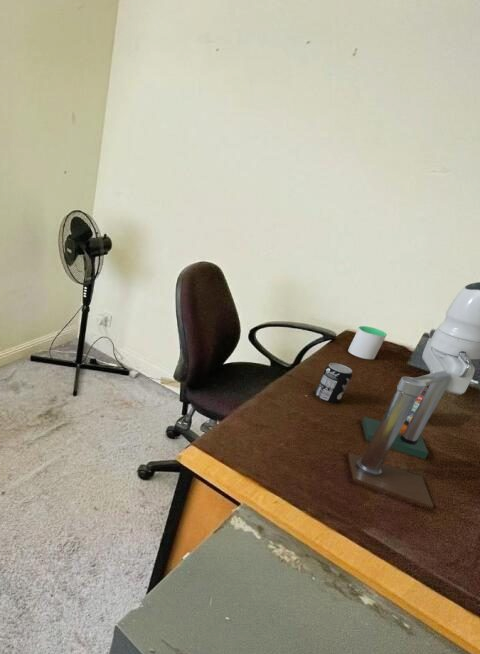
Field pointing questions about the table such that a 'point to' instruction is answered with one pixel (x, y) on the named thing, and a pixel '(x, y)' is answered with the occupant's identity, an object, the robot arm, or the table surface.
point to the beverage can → (333, 382)
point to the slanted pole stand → (371, 464)
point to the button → (403, 429)
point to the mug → (367, 342)
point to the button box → (399, 445)
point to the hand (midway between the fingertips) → (431, 390)
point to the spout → (428, 402)
